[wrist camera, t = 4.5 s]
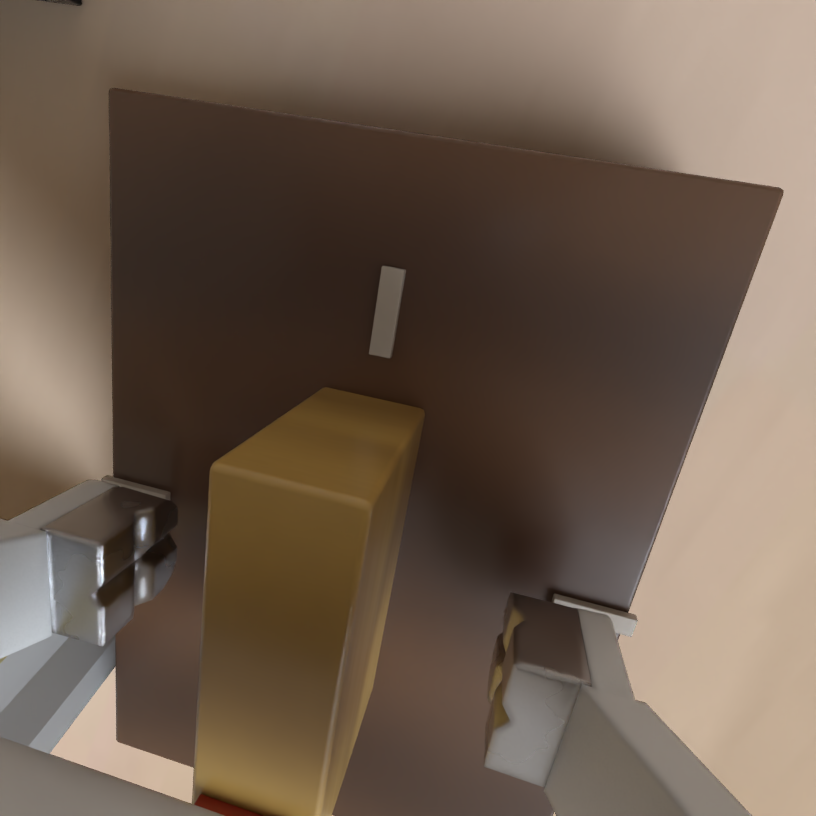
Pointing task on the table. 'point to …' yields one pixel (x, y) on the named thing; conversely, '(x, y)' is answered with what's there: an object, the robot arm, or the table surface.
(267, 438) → the thumb turn
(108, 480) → the lock plate
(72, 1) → the black button box
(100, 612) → the robot arm
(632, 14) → the table surface
